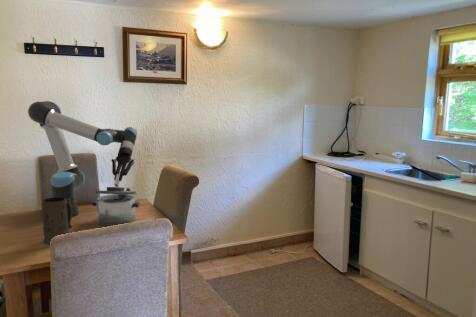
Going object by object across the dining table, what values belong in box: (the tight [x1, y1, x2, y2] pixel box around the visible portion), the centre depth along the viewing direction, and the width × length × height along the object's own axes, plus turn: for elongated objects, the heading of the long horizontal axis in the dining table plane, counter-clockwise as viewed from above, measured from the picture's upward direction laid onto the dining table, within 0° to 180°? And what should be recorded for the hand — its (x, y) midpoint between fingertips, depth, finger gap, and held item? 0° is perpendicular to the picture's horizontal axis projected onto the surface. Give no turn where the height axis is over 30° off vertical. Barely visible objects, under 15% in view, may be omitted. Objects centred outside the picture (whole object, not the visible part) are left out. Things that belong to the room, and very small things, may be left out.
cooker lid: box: [94, 186, 137, 195], centre depth 208 cm, size 21×21×4 cm
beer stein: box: [41, 197, 73, 245], centre depth 181 cm, size 15×11×20 cm
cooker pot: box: [91, 194, 141, 227], centre depth 210 cm, size 25×21×12 cm
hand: (116, 185), depth 207 cm, fingers closed
